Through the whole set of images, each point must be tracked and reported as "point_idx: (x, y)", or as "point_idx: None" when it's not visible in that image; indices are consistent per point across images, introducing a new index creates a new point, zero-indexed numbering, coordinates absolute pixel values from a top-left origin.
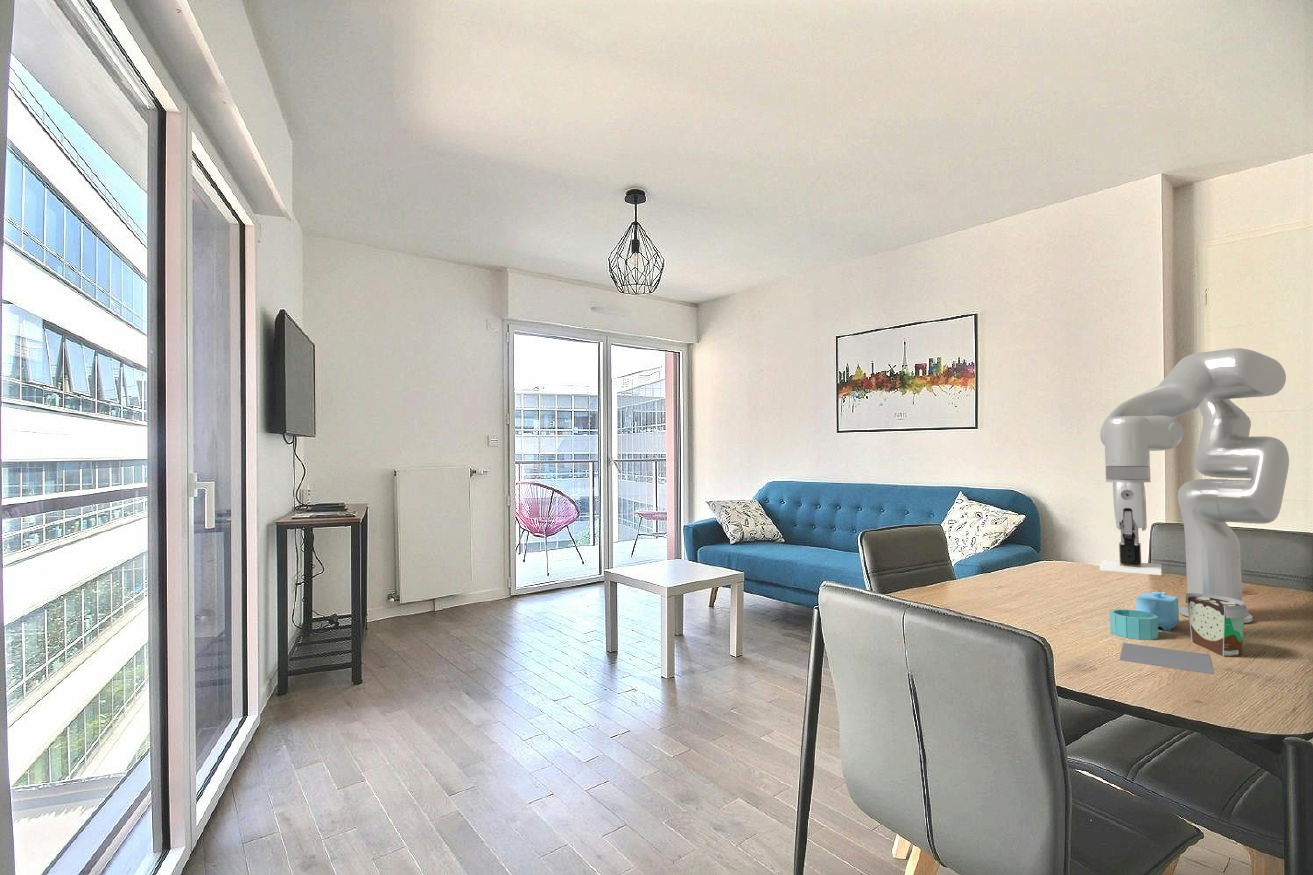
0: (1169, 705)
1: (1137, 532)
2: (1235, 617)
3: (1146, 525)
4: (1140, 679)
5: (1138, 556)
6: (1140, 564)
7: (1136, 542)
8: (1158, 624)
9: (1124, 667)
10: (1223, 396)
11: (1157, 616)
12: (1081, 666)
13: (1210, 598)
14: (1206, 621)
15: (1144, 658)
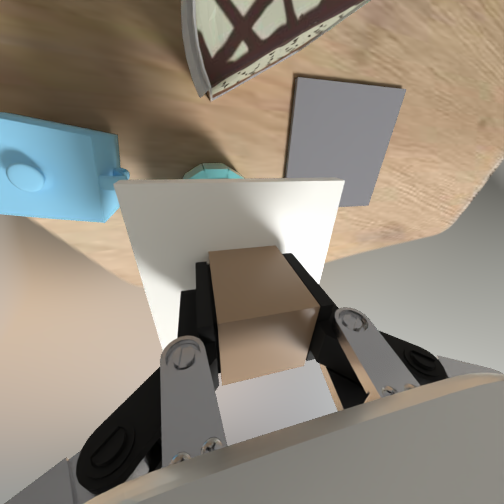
0: (489, 152)
1: (388, 387)
2: None
3: (352, 476)
4: (420, 180)
5: (304, 273)
6: (278, 251)
7: (367, 324)
8: (118, 163)
9: (382, 197)
10: None
11: (216, 169)
12: (387, 234)
13: None
14: (276, 55)
15: (354, 179)
